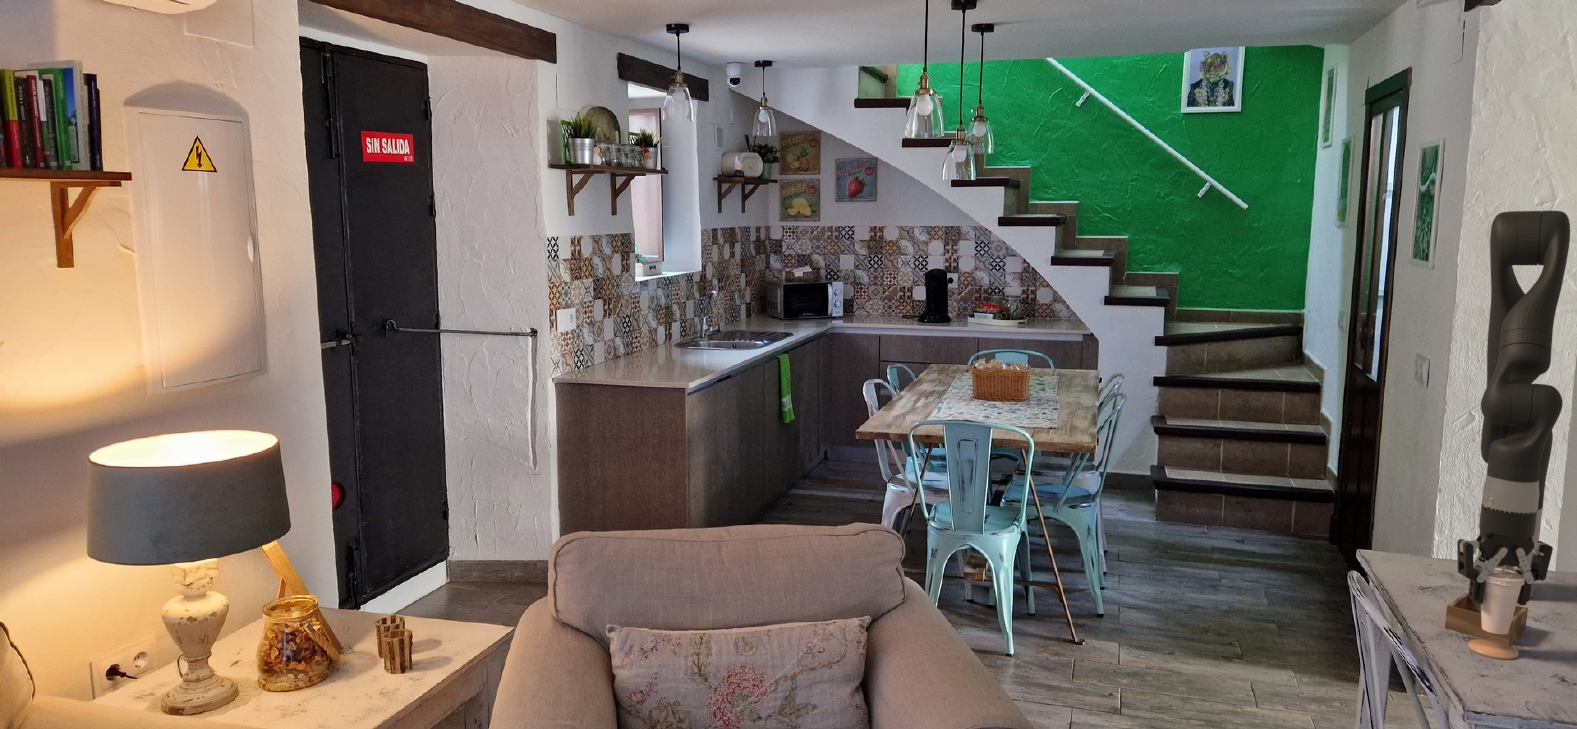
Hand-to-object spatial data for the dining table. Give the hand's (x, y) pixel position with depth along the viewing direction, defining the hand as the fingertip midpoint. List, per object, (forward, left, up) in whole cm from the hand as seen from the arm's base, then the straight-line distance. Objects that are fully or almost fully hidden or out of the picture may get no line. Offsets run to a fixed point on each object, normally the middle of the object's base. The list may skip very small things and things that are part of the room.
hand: (1498, 602), depth 174 cm
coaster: (0, 0, -8) cm, 8 cm away
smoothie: (0, 0, -5) cm, 5 cm away
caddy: (-10, -4, -8) cm, 13 cm away
